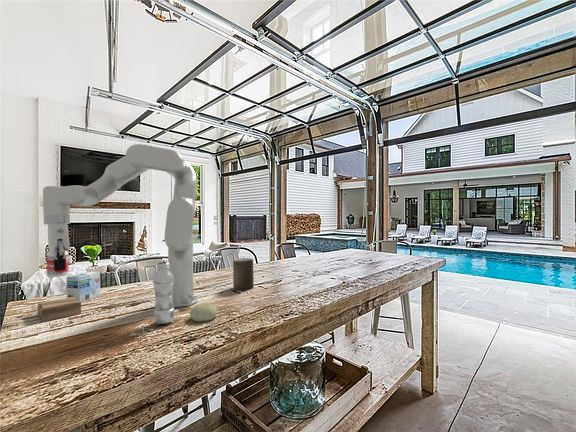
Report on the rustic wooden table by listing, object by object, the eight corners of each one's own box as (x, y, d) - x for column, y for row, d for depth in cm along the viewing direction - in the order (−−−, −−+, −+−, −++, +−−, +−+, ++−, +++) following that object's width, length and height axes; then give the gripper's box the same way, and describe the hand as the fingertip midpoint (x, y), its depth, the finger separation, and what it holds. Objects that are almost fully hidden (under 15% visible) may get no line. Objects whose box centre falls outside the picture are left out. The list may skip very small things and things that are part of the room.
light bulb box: (79, 302, 119) (79, 276, 119) (66, 302, 121) (65, 276, 120) (101, 295, 130) (100, 271, 130) (88, 294, 131) (88, 271, 131)
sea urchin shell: (223, 308, 104) (214, 297, 99) (215, 330, 99) (205, 319, 93) (202, 306, 107) (192, 295, 102) (193, 327, 102) (181, 316, 96)
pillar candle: (252, 290, 134) (251, 258, 134) (231, 290, 135) (231, 258, 135) (254, 285, 144) (254, 255, 144) (235, 285, 144) (235, 255, 144)
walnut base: (81, 313, 106) (80, 301, 106) (42, 321, 98) (41, 309, 98) (74, 306, 114) (74, 296, 114) (37, 314, 106) (37, 302, 106)
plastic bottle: (162, 328, 92) (160, 265, 92) (149, 323, 95) (148, 263, 95) (179, 321, 97) (178, 262, 97) (166, 317, 101) (165, 260, 101)
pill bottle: (44, 278, 102) (43, 246, 102) (51, 274, 108) (50, 245, 107) (65, 276, 104) (64, 246, 104) (71, 273, 110) (70, 244, 110)
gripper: (74, 220, 102) (76, 270, 103) (64, 219, 114) (66, 264, 115) (47, 220, 97) (49, 274, 97) (40, 220, 109) (41, 267, 109)
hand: (58, 268), depth 106 cm, fingers closed on pill bottle, 6 cm apart
